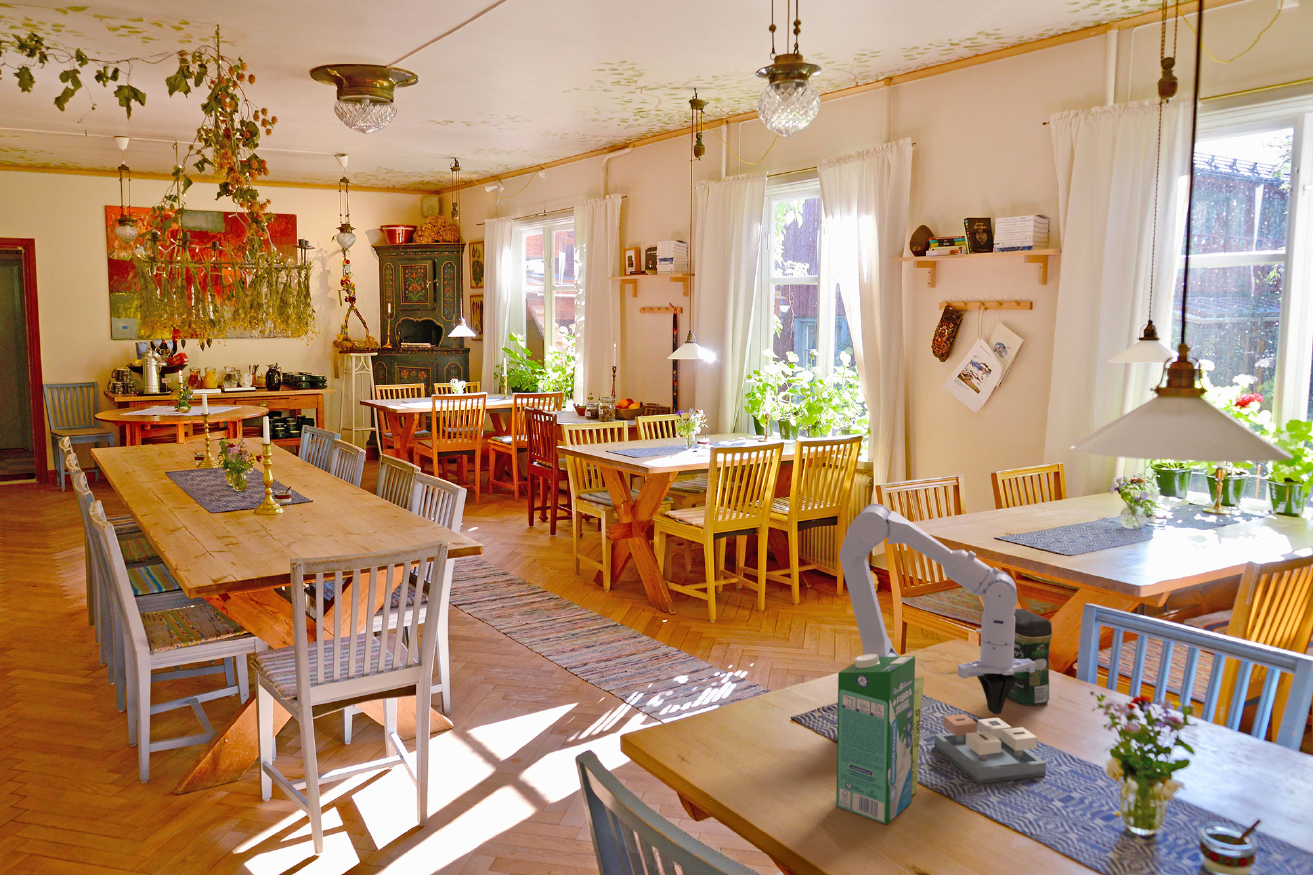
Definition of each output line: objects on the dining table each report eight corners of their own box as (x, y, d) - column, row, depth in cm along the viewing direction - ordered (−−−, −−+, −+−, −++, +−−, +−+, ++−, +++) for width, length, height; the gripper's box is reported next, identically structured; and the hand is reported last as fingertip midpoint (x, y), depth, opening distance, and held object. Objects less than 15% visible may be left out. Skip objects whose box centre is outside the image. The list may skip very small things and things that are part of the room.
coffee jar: (993, 691, 196) (996, 607, 194) (1025, 687, 198) (1029, 604, 196) (1022, 709, 186) (1026, 621, 184) (1055, 704, 188) (1059, 617, 186)
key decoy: (955, 746, 164) (956, 724, 164) (943, 736, 168) (943, 715, 168) (976, 744, 165) (977, 722, 165) (963, 734, 169) (964, 713, 169)
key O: (990, 750, 166) (990, 728, 165) (977, 740, 170) (977, 719, 169) (1010, 747, 167) (1011, 726, 166) (997, 737, 171) (998, 716, 170)
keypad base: (977, 784, 156) (978, 770, 155) (934, 746, 170) (934, 734, 169) (1045, 775, 158) (1045, 762, 158) (997, 739, 172) (997, 727, 172)
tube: (912, 801, 150) (916, 687, 148) (881, 794, 152) (885, 681, 150) (920, 786, 155) (924, 676, 153) (890, 779, 157) (893, 670, 155)
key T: (1014, 761, 158) (1015, 739, 158) (1000, 750, 162) (1001, 728, 162) (1036, 759, 159) (1037, 736, 159) (1021, 748, 163) (1022, 726, 163)
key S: (978, 765, 157) (979, 743, 156) (965, 755, 161) (966, 732, 160) (1000, 763, 158) (1001, 740, 157) (986, 752, 162) (987, 730, 161)
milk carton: (861, 785, 156) (864, 643, 153) (911, 802, 150) (915, 655, 147) (835, 806, 149) (838, 658, 146) (886, 825, 143) (890, 671, 140)
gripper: (973, 650, 161) (970, 724, 162) (1046, 644, 164) (1043, 716, 165) (952, 637, 167) (950, 708, 169) (1022, 631, 170) (1019, 701, 172)
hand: (994, 711), depth 168 cm, fingers closed
